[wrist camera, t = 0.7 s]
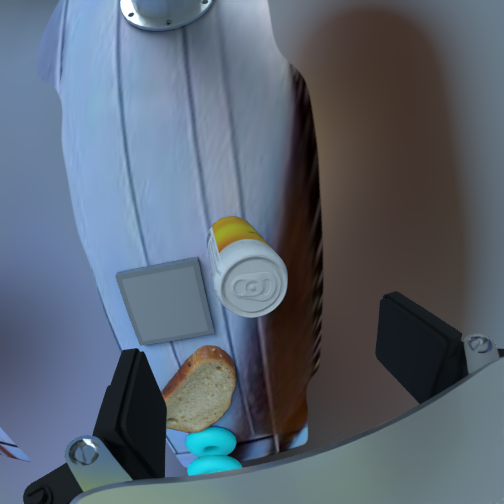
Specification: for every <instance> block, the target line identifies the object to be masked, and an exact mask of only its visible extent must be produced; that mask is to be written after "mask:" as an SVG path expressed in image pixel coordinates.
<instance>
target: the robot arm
mask: <svg viewBox="0 0 504 504" xmlns="http://www.w3.org/2000/svg"><path fill="white" fill-rule="evenodd" d="M212 2H213V0H121V3H120V6H121V11H122V14H123V16H124V17H125V19H126V20H127V21H128V22H129V23H130V24H131V25H133V26H135V27H137V28H140V29H144V30H150V31H164V30H171V29H175V28H179V27H182V26H184V25H187V24H189V23H191V22H193V21H195V20H196V19H198V18H199V17H201V16H202V15H203V14H204V13H205V12H206V11H207V10H208V9H209V8H210V6H211V4H212ZM168 24H170V25H168ZM461 337H462V333H461V332H459V331H458V330H456V329H455V328H453V327H452V326H450V325H449V324H447V323H446V322H444V321H442V320H441V319H440V318H438V317H436V316H435V315H433V314H432V313H430V312H429V311H427V310H426V309H424V308H423V307H421V306H420V305H418V304H416V303H415V302H413V301H411V300H410V299H408V298H407V297H405V296H404V295H402V294H401V293H399V292H392V293H389V294H386V295H384V296H383V299H382V300H381V301H380V311H379V322H378V333H377V343H376V357H377V359H378V360H379V361H380V362H381V363H382V364H383V366H384V367H385V368H386V369H387V370H388V371H389V372H390V373H391V374H392V375H393V376H394V377H395V378H396V379H397V380H398V381H399V382H400V383H401V384H402V386H403V387H404V388H405V389H406V390H407V391H408V392H409V393H410V394H411V395H412V396H413V397H414V398H415V399H416V400H417V401H418V403H419V404H420V405H418V406H416V407H414V408H412V409H411V410H409V411H407V412H405V413H403V414H401V415H399V416H397V417H395V418H393V419H391V420H389V421H387V422H384V423H382V424H380V425H378V426H376V427H373V428H371V429H369V430H367V431H364V432H362V433H359V434H357V435H354V436H352V437H350V438H347V439H344V440H342V441H339V442H336V443H333V444H331V445H328V446H325V447H322V448H319V449H316V450H313V451H310V452H306V453H303V454H300V455H296V456H292V457H289V458H285V459H281V460H277V461H273V462H269V463H265V464H261V465H255V466H251V467H245V468H240V469H234V470H228V471H222V472H215V473H208V474H200V475H191V476H180V477H166V478H165V442H166V421H167V406H166V403H165V400H164V398H163V396H162V394H161V391H160V389H159V387H158V385H157V382H156V380H155V377H154V375H153V373H152V370H151V368H150V365H149V363H148V360H147V358H146V355H145V353H144V352H140V351H139V349H137V348H135V349H127V350H123V351H122V353H121V356H120V359H119V362H118V364H117V367H116V370H115V373H114V376H113V379H112V382H111V385H109V386H108V387H107V389H106V392H105V396H104V398H103V402H102V405H101V408H100V411H99V414H98V418H97V421H96V425H95V428H94V431H93V435H92V436H91V435H85V436H80V437H77V438H75V439H74V440H72V441H71V442H70V443H69V444H68V445H67V447H66V450H65V459H66V462H67V463H65V464H63V465H62V466H60V467H59V468H57V469H55V470H54V471H52V472H50V473H49V474H47V475H45V476H44V477H42V478H40V479H38V480H37V481H35V482H33V483H31V484H30V485H29V486H28V487H27V488H26V490H25V492H24V495H23V501H24V504H504V349H497V347H496V344H495V342H494V340H493V339H491V338H490V337H488V336H486V335H483V334H471V335H469V336H467V337H466V338H465V340H464V342H462V341H461Z"/></svg>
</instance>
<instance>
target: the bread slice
mask: <svg viewBox="0 0 504 504" xmlns="http://www.w3.org/2000/svg"><path fill="white" fill-rule="evenodd" d="M236 380H237V375H236V369H235V365H234V362H233V360H232V359H231V357H230V356H229V355H228V354H227V353H226V352H225V351H224V350H222V349H221V348H219V347H217V346H202V347H201V348H199V349H198V350H197V351H196V352H195V353H194V354H192V355H191V356H190V357H189V358H188V359H187V360H186V361H185V363H184V364H183V365H182V366H181V367H180V368H179V370H178V372H177V373H176V374H175V375H174V377H173V378H172V379H171V380H170V382H169V383H168V384H167V385H166V387H165V388H164V389H163V391H162V392H161V394H162V396H163V398H164V400H165V403H166V406H167V421H166V428H167V429H173V430H178V431H182V432H187V433H196V432H200V431H203V430H205V429H206V428H208V427H209V426H211V425H212V424H214V423H215V422H217V421H218V420H219V419H220V418H221V417H222V416H223V415H224V414H225V412H226V411H227V410H228V408H229V407H230V405H231V396H232V393H233V391H234V390H235V387H236Z"/></svg>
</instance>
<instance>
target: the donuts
mask: <svg viewBox="0 0 504 504" xmlns="http://www.w3.org/2000/svg"><path fill="white" fill-rule="evenodd" d="M186 446H187V448H188V450H189V451H190V452H191V453H192V454H194V455H196V456H198V457H199V458H197V459H195V460H194V461H192V462H191V463H190V465H189V466H188V475H189V476H191V475H200V474H208V473H215V472H222V471H228V470H234V469H240V468H242V466H241V464H240V462H239V461H237V460H236V459H234V458H232V457H229V456H226V455H228V454H229V453H231V452H232V451H233V450H234V448H235V446H236V438H235V436H234V435H233V434H232V433H231V432H230V431H228V430H226V429H224V428H220V427H208V428H206V429H205V430H203V431H200V432H196V433H190V434H189V435H188V436H187V438H186Z"/></svg>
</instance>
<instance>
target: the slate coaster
mask: <svg viewBox="0 0 504 504" xmlns="http://www.w3.org/2000/svg"><path fill="white" fill-rule="evenodd" d="M115 276H116V279H117V282H118V285H119V289H120V292H121V295H122V298H123V301H124V304H125V306H126V309H127V312H128V315H129V318H130V320H131V323H132V326H133V328H134V331H135V334H136V336H137V339H138V341H139V344H140V346H141V345H148V344H155V343H161V342H168V341H174V340H180V339H186V338H192V337H197V336H203V335H208V334H213V333H214V327H213V323H212V319H211V315H210V311H209V306H208V302H207V298H206V293H205V289H204V284H203V279H202V275H201V270H200V265H199V261H198V257H194V258H188V259H183V260H178V261H173V262H167V263H162V264H157V265H152V266H147V267H142V268H136V269H131V270H126V271H121V272H117V274H116V275H115Z"/></svg>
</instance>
